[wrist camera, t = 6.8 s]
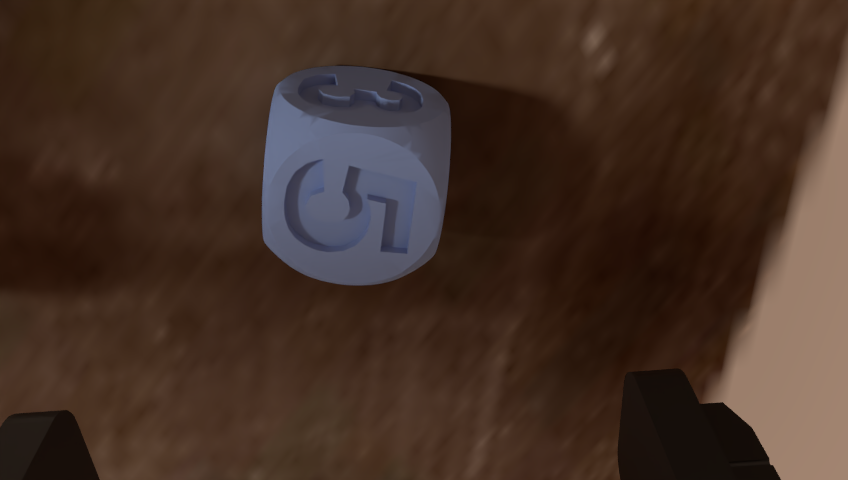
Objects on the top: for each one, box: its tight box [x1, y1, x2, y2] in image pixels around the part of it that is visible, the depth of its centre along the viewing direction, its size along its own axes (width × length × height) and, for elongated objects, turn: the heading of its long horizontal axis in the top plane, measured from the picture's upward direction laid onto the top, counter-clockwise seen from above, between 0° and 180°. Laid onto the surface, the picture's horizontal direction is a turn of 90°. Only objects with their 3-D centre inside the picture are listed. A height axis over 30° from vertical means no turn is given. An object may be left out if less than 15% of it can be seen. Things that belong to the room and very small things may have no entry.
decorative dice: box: [262, 66, 451, 285], centre depth 19 cm, size 4×4×4 cm
